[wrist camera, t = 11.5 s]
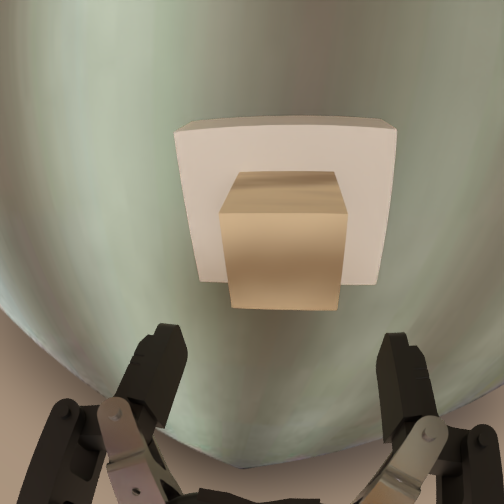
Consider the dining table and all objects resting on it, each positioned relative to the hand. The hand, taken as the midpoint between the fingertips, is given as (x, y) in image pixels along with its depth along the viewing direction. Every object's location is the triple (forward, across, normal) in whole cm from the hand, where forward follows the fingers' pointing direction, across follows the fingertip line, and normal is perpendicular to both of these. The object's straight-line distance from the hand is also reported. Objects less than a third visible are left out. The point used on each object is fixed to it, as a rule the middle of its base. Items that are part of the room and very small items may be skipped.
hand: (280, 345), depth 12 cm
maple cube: (+11, 0, 0) cm, 11 cm away
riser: (+15, 0, 0) cm, 15 cm away
